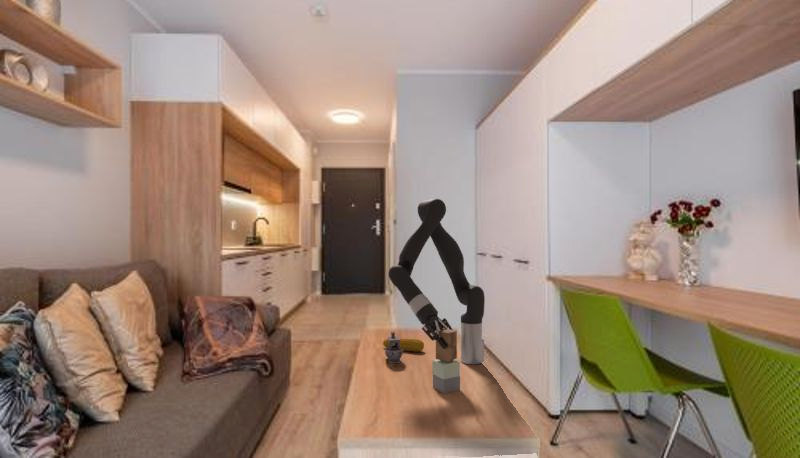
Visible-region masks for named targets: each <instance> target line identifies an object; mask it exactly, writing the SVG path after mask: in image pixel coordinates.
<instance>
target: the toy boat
mask: <svg viewBox="0 0 800 458" xmlns="http://www.w3.org/2000/svg"><path fill="white" fill-rule="evenodd" d="M387 339H388V342H389V348H387V347H384V355H385V356H386V357H387V360H388V361H387V362H388V363H390V364H399V363H400V362H401V358H402V356H403V354H404V351H403V349H402V350H400V341H401V339H402V338H401V337H399V336H398V335H397V336H396V332H395V331H394V330H392V331H391V332H390V336H387ZM392 343H395V344H394V345H392Z"/></svg>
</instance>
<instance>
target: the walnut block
mask: <svg viewBox="0 0 800 458" xmlns="http://www.w3.org/2000/svg"><path fill="white" fill-rule="evenodd" d="M439 333H440V334H441V337H443V339H444V340H445V341H446V343H447V344H448V347H447V348H446V349H443V348H442V347H441V345H440V344H439V343H438V341H435V359H438V360H442V361H447V362H450V361H452V360H456V359H457V358H458V350H457V349H458V348H457V347H458V346H457V344H458V341H457V340H458V339H457V338H458V336H457V330H455V329H453V330H450V329H449V328H448V329H444V328H443V329H441V330H440V332H439Z"/></svg>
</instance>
